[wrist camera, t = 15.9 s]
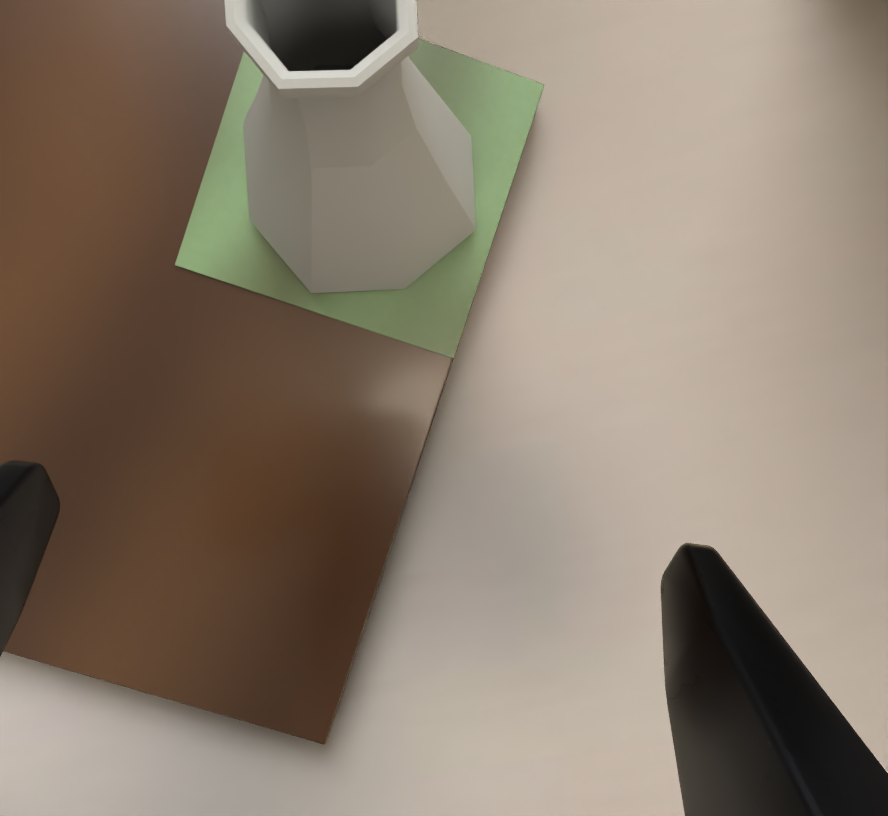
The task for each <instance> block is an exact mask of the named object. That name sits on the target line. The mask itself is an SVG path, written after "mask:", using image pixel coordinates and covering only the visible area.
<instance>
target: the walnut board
mask: <svg viewBox="0 0 888 816" xmlns="http://www.w3.org/2000/svg"><path fill="white" fill-rule="evenodd" d="M418 42H419V45H418V46H417V48H416V50H415V51H414V52H412V53H411V54H410V55H409V58H410V60H411V61H412V62H413V64H414V65H415V66H416V67H417V69H418V70H419V71H420V72H421V74H422V75H423V76H424V77H425V78H426V80H427V81H428V82H429V83H430V85H431V86H432V87H433V88H434V90H435V91H436V92H437V93H438V95H439V96H440V97H441V98H442V100H443V101H444V102H445V103H446V105H447V106H448V107H449V108H450V110H451V111H452V112H453V113H454V115H455V116H456V117H457V118H458V120H459V121H460V122H461V123H462V125H463V126H464V127H465V128H466V129H467V131H468V132H469V133H470V134H471V138H472V158H473V178H474V198H475V218H476V230H475V231H474V232H473V233H472V234H470V235H469V236H468V237H467V238H466V239H464V240H463V241H462V242H461V243H460V244H458V245H457V246H456V247H455V248H454V249H452V250H451V251H450V252H449V253H448V254H446V255H445V256H444V257H443V258H442V259H440V260H439V261H438V262H437V263H436V264H434V265H433V266H432V267H431V268H430V269H428V270H427V271H426V272H425V273H424V274H422V275H421V276H420V277H419V278H418V279H416V280H415V281H414V282H413V283H412V284H410V285H409V286H408V287H407V288H406V289H395V290H372V291H350V292H328V293H310V291H309V290H308V289H307V288H306V287H305V285H304V284H303V283H302V282H301V281H300V279H299V278H298V277H297V276H296V275H295V274H294V272H293V271H292V270H291V269H290V268H289V266H288V265H287V264H286V263H285V262H284V260H283V259H282V258H281V257H280V256H279V255H278V253H277V252H276V251H275V250H274V249H273V247H272V246H271V245H270V244H269V243H268V241H267V240H266V239H265V238H264V237H263V235H262V234H261V233H260V232H259V231H258V230H257V228H256V227H255V226H254V225H253V224H252V222H251V221H250V220H249V208H248V193H247V177H246V162H245V146H244V130H243V122H244V119H245V117H246V114H247V112H248V110H249V108H250V106H251V104H252V103H253V101H254V99H255V97H256V95H257V92H258V89H259V86H260V83H261V80H262V77H263V73H262V72H261V71H260V70H259V69H258V67H257V66H256V65H255V64H254V63H253V61H252V60H251V59H250V58H249V57H248V55H247V54H246V53H245V52H244V50H243V49H242V48H241V47H240V46H239V44H238V43H237V42H236V41H235V40H234V38H233V37H232V36H231V35H230V33H229V31H228V29H227V26H226V15H225V0H0V465H1V464H3V463H5V462H7V461H11V460H20V461H28V462H36V463H40V464H41V465H43V466H44V467H45V469H46V470H47V473H48V475H49V477H50V479H51V481H52V483H53V486H54V488H55V490H56V492H57V494H58V497H59V500H60V511H59V515H58V519H57V521H56V524H55V527H54V529H53V532H52V535H51V537H50V540H49V543H48V545H47V548H46V551H45V553H44V556H43V559H42V561H41V564H40V567H39V569H38V572H37V575H36V577H35V580H34V583H33V585H32V588H31V591H30V593H29V596H28V599H27V601H26V604H25V606H24V608H23V611H22V613H21V616H20V618H19V620H18V622H17V624H16V626H15V628H14V630H13V632H12V634H11V636H10V638H9V640H8V642H7V644H6V646H5V648H4V650H3V651H4V652H8V653H11V654H15V655H18V656H22V657H25V658H28V659H32V660H35V661H39V662H42V663H46V664H49V665H53V666H56V667H59V668H63V669H66V670H70V671H73V672H77V673H80V674H83V675H87V676H90V677H94V678H97V679H101V680H104V681H108V682H111V683H114V684H118V685H121V686H125V687H128V688H132V689H135V690H139V691H142V692H145V693H149V694H152V695H156V696H159V697H163V698H166V699H170V700H173V701H176V702H180V703H183V704H187V705H190V706H194V707H197V708H201V709H204V710H207V711H211V712H214V713H218V714H221V715H225V716H228V717H231V718H235V719H238V720H242V721H245V722H249V723H252V724H256V725H259V726H262V727H266V728H269V729H273V730H276V731H280V732H283V733H287V734H290V735H293V736H297V737H300V738H304V739H307V740H311V741H314V742H318V743H321V744H325V743H326V741H327V738H328V735H329V732H330V729H331V726H332V723H333V720H334V717H335V714H336V711H337V708H338V705H339V702H340V699H341V696H342V693H343V690H344V687H345V684H346V681H347V678H348V675H349V672H350V669H351V666H352V663H353V660H354V657H355V654H356V651H357V648H358V645H359V642H360V639H361V636H362V633H363V630H364V627H365V624H366V621H367V618H368V615H369V612H370V609H371V606H372V603H373V600H374V597H375V594H376V591H377V588H378V585H379V581H380V578H381V575H382V572H383V569H384V566H385V563H386V560H387V557H388V554H389V551H390V548H391V545H392V542H393V539H394V536H395V533H396V530H397V527H398V524H399V521H400V518H401V515H402V512H403V509H404V506H405V503H406V500H407V497H408V494H409V491H410V488H411V485H412V482H413V479H414V476H415V473H416V470H417V467H418V464H419V461H420V458H421V455H422V452H423V449H424V446H425V443H426V440H427V437H428V434H429V431H430V428H431V425H432V422H433V419H434V416H435V413H436V410H437V407H438V404H439V400H440V397H441V394H442V391H443V388H444V385H445V382H446V379H447V376H448V373H449V370H450V367H451V364H452V361H453V359H454V356H455V353H456V350H457V347H458V344H459V341H460V338H461V335H462V332H463V329H464V326H465V323H466V320H467V317H468V314H469V311H470V308H471V305H472V302H473V299H474V296H475V293H476V290H477V287H478V284H479V281H480V278H481V275H482V272H483V269H484V266H485V263H486V260H487V257H488V254H489V251H490V248H491V245H492V242H493V238H494V235H495V232H496V229H497V226H498V223H499V220H500V217H501V214H502V211H503V208H504V205H505V202H506V199H507V196H508V193H509V190H510V187H511V184H512V181H513V178H514V175H515V172H516V169H517V166H518V163H519V160H520V157H521V154H522V151H523V148H524V145H525V142H526V139H527V136H528V133H529V130H530V127H531V124H532V121H533V118H534V115H535V112H536V109H537V106H538V103H539V100H540V97H541V94H542V91H543V88H544V84H541V83H538V82H535V81H533V80H530V79H527V78H525V77H522V76H519V75H516V74H514V73H511V72H508V71H506V70H503V69H500V68H497V67H495V66H492V65H489V64H487V63H484V62H481V61H479V60H476V59H473V58H470V57H468V56H465V55H462V54H460V53H457V52H454V51H451V50H449V49H446V48H443V47H441V46H438V45H435V44H432V43H430V42H427V41H424V40H422V39H419V38H418Z"/></svg>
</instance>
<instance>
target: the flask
mask: <svg viewBox="0 0 888 816" xmlns="http://www.w3.org/2000/svg"><path fill="white" fill-rule="evenodd" d="M225 15H226V26H227V29H228V31H229V33H230V35H231V36H232V37H233V38H234V40H235V41H236V42H237V43H238V44H239V46H240V47H241V48H242V49H243V50H244V52H245V53H246V54H247V55H248V57H249V58H250V59H251V60H252V61H253V63H254V64H255V65H256V66H257V67H258V69H259V70H260V71H261V72H262V73H263V77H262V80H261V83H260V86H259V89H258V92H257V95H256V97H255V99H254V101H253V103H252V104H251V106H250V108H249V110H248V112H247V114H246V117H245V119H244V122H243V130H244V146H245V162H246V177H247V193H248V208H249V220H250V221H251V222H252V224H253V225H254V226H255V227H256V228H257V230H258V231H259V232H260V233H261V234H262V235H263V237H264V238H265V239H266V240H267V241H268V243H269V244H270V245H271V246H272V247H273V249H274V250H275V251H276V252H277V253H278V255H279V256H280V257H281V258H282V259H283V260H284V262H285V263H286V264H287V265H288V266H289V268H290V269H291V270H292V271H293V272H294V274H295V275H296V276H297V277H298V278H299V279H300V281H301V282H302V283H303V284H304V285H305V287H306V288H307V289H308V290H309V291H310V293H328V292H350V291H372V290H395V289H406V288H407V287H408V286H409V285H410V284H412V283H413V282H414V281H415V280H416V279H418V278H419V277H420V276H421V275H422V274H424V273H425V272H426V271H427V270H428V269H430V268H431V267H432V266H433V265H434V264H436V263H437V262H438V261H439V260H440V259H442V258H443V257H444V256H445V255H446V254H448V253H449V252H450V251H451V250H452V249H454V248H455V247H456V246H457V245H458V244H460V243H461V242H462V241H463V240H464V239H466V238H467V237H468V236H469V235H470V234H472V233H473V232H474V231H475V230H476V218H475V198H474V178H473V158H472V138H471V134H470V133H469V132H468V131H467V129H466V128H465V127H464V126H463V125H462V123H461V122H460V121H459V120H458V118H457V117H456V116H455V115H454V113H453V112H452V111H451V110H450V108H449V107H448V106H447V105H446V103H445V102H444V101H443V100H442V98H441V97H440V96H439V95H438V93H437V92H436V91H435V90H434V88H433V87H432V86H431V85H430V83H429V82H428V81H427V80H426V78H425V77H424V76H423V75H422V74H421V72H420V71H419V70H418V69H417V67H416V66H415V65H414V64H413V62H412V61H411V60H410V58H409V55H410V54H411V53H412V52H414V51H415V50H416V48H417V46H418V45H419V42H418V23H417V5H416V0H225Z"/></svg>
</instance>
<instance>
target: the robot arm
mask: <svg viewBox="0 0 888 816" xmlns="http://www.w3.org/2000/svg"><path fill="white" fill-rule="evenodd" d="M59 511H60V500H59V497H58V494H57V492H56V490H55V488H54V486H53V483H52V481H51V479H50V477H49V475H48V473H47V470H46V469H45V467H44V466H43V465H41V464H40V463H36V462H28V461H20V460H11V461H7V462H5V463H3V464H1V465H0V656H1V654H2V652H3V650H4V648H5V646H6V644H7V642H8V640H9V638H10V636H11V634H12V632H13V630H14V628H15V626H16V624H17V622H18V620H19V618H20V616H21V613H22V611H23V608H24V606H25V604H26V601H27V599H28V596H29V593H30V591H31V588H32V585H33V583H34V580H35V577H36V575H37V572H38V569H39V567H40V564H41V561H42V559H43V556H44V553H45V551H46V548H47V545H48V543H49V540H50V537H51V535H52V532H53V529H54V527H55V524H56V521H57V519H58V515H59ZM661 607H662V629H663V652H664V674H665V689H666V697H667V705H668V711H669V718H670V724H671V730H672V737H673V743H674V749H675V755H676V762H677V768H678V774H679V781H680V787H681V793H682V800H683V806H684V812H685V816H888V773H887V772H886V771H885V769H884V768H883V767H882V765H881V764H880V763H879V762H878V760H877V759H876V758H875V756H874V755H873V754H872V752H871V751H870V750H869V749H868V747H867V746H866V745H865V743H864V742H863V741H862V739H861V738H860V737H859V736H858V734H857V733H856V732H855V730H854V729H853V728H852V726H851V725H850V724H849V722H848V721H847V720H846V719H845V717H844V716H843V715H842V713H841V712H840V711H839V709H838V708H837V707H836V706H835V704H834V703H833V702H832V700H831V699H830V698H829V696H828V695H827V694H826V693H825V691H824V690H823V689H822V687H821V686H820V685H819V683H818V682H817V681H816V680H815V678H814V677H813V676H812V674H811V673H810V672H809V670H808V669H807V668H806V666H805V665H804V664H803V663H802V661H801V660H800V659H799V657H798V656H797V655H796V653H795V652H794V651H793V650H792V648H791V647H790V646H789V644H788V643H787V642H786V640H785V639H784V638H783V637H782V635H781V634H780V633H779V631H778V630H777V629H776V627H775V626H774V625H773V624H772V622H771V621H770V620H769V618H768V617H767V616H766V614H765V613H764V612H763V610H762V609H761V608H760V607H759V605H758V604H757V603H756V601H755V600H754V599H753V597H752V596H751V595H750V594H749V592H748V591H747V590H746V588H745V587H744V586H743V584H742V583H741V582H740V581H739V579H738V578H737V577H736V575H735V574H734V573H733V571H732V570H731V569H730V567H729V566H728V565H727V564H726V562H725V561H724V560H723V558H722V557H721V556H720V554H719V553H718V552H717V551H716V550H715V549H714V548H712V547H710V546H707V545H699V544H691V543H685V544H683V545H681V546H680V548H679V549H678V551H677V552H676V554H675V555H674V557H673V559H672V560H671V562H670V563H669V565H668V567H667V568H666V570H665V572H664V574H663V576H662V580H661Z"/></svg>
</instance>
